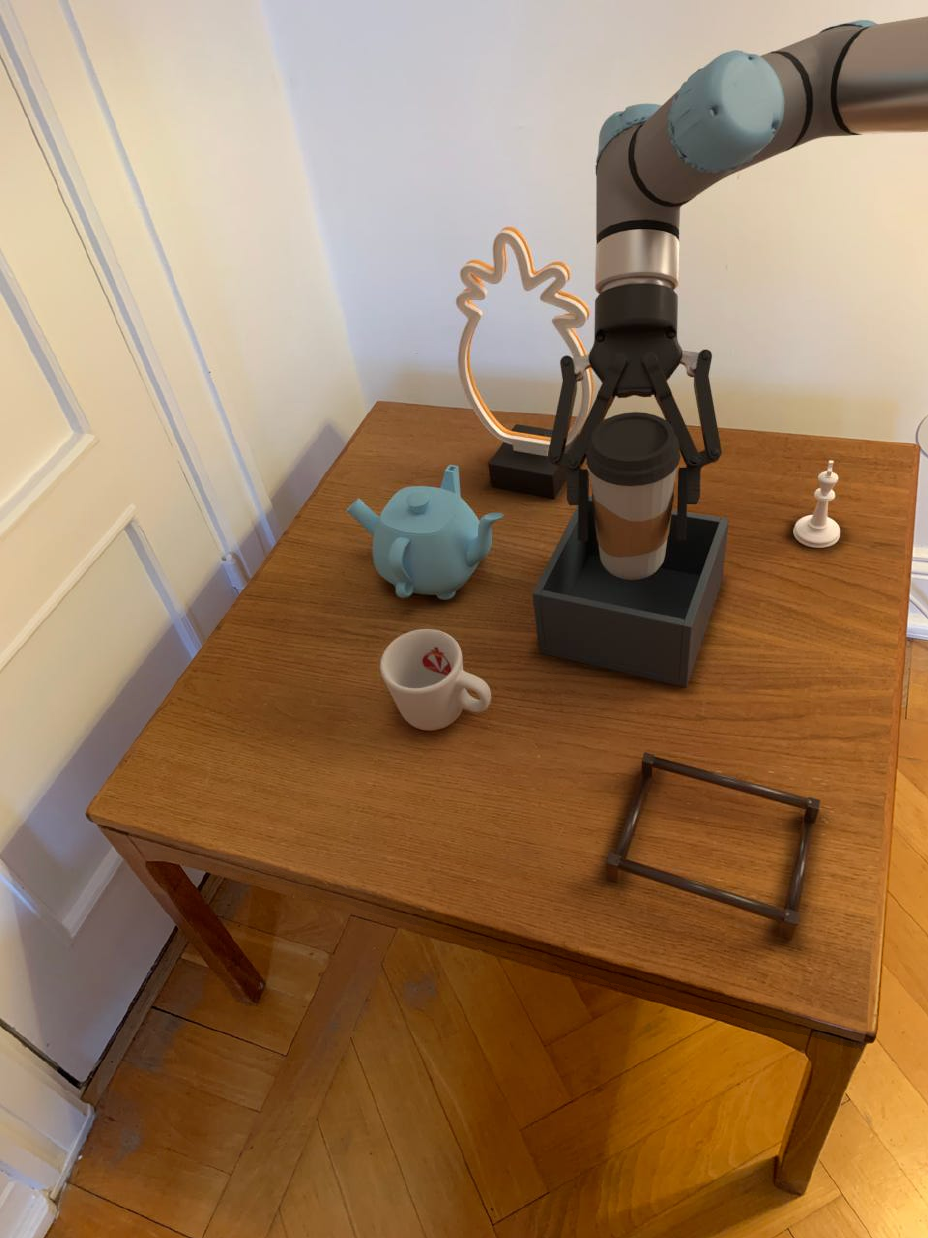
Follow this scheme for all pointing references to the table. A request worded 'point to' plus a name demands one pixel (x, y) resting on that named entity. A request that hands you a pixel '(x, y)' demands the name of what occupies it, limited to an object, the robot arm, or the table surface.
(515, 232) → the lamp
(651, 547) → the coffee cup
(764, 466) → the table surface
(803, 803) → the rectangular rod frame
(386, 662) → the cup
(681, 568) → the grey open box
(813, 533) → the chess piece
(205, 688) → the table surface
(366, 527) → the teapot
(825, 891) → the table surface
